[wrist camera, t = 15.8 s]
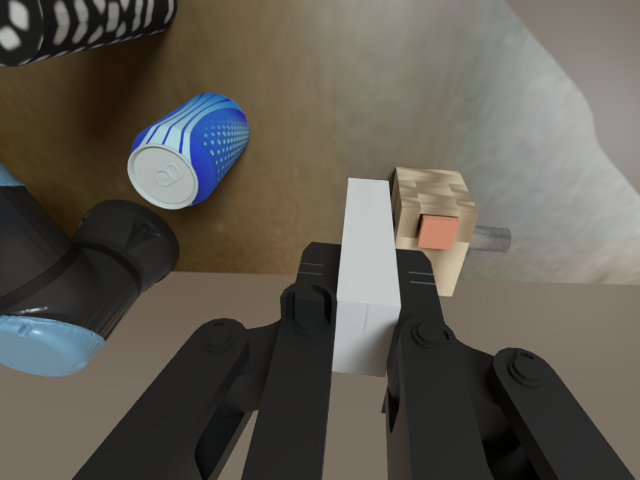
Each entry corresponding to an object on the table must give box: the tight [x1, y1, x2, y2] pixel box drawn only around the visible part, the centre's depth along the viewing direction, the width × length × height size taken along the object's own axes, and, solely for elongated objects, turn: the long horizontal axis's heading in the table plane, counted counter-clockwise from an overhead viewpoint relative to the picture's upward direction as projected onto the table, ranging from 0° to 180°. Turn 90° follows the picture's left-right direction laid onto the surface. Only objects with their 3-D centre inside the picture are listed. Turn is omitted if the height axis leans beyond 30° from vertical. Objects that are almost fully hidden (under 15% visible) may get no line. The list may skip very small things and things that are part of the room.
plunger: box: [417, 214, 459, 250], centre depth 42 cm, size 4×4×8 cm
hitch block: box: [391, 167, 479, 296], centre depth 46 cm, size 8×12×10 cm, turn 178°
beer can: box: [128, 93, 249, 209], centre depth 40 cm, size 8×8×16 cm
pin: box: [392, 212, 511, 253], centre depth 45 cm, size 16×5×5 cm, turn 88°
